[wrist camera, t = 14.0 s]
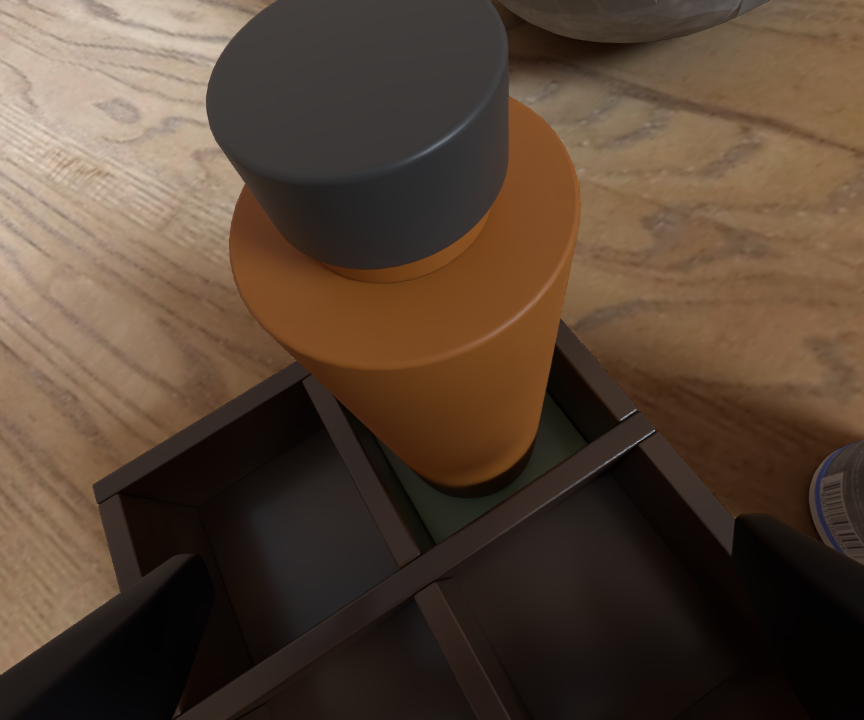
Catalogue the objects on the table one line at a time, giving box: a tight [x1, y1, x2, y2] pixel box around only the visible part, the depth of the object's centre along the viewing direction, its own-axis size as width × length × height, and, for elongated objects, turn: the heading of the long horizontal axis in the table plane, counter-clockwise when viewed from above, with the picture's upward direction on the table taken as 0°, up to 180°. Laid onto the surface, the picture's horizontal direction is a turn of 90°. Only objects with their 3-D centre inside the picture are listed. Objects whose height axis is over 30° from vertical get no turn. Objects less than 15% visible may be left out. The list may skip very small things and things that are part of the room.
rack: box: [93, 318, 810, 720], centre depth 14 cm, size 15×15×5 cm
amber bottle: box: [206, 0, 581, 498], centre depth 11 cm, size 5×5×14 cm
